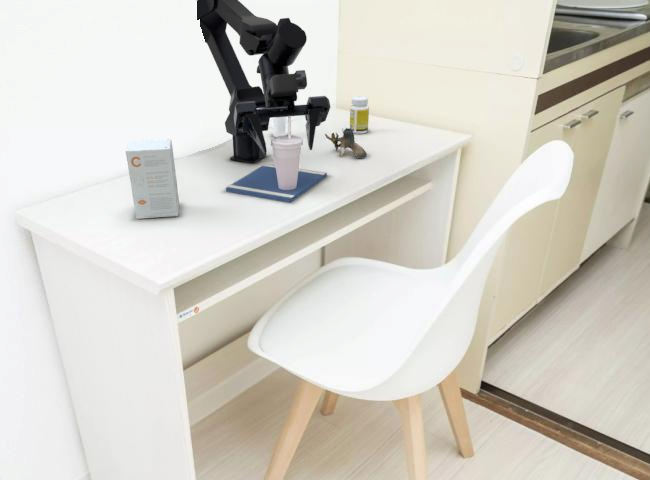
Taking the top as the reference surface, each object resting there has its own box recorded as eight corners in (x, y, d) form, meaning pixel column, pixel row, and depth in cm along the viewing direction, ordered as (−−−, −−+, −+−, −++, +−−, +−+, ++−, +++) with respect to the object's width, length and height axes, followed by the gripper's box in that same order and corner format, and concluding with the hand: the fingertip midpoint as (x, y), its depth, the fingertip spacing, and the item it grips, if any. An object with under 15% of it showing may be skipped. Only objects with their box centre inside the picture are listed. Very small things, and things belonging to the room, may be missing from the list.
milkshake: (267, 138, 165) (266, 97, 160) (273, 132, 169) (272, 93, 164) (284, 139, 164) (284, 98, 158) (290, 133, 168) (290, 93, 163)
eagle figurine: (320, 151, 151) (350, 151, 145) (327, 121, 151) (358, 119, 145) (339, 162, 157) (369, 162, 151) (346, 133, 157) (376, 132, 151)
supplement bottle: (370, 130, 169) (372, 97, 164) (363, 135, 166) (364, 100, 161) (354, 128, 171) (355, 95, 167) (346, 132, 168) (347, 98, 163)
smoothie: (303, 192, 130) (302, 121, 122) (271, 192, 130) (268, 121, 122) (303, 181, 135) (302, 112, 128) (272, 181, 135) (270, 113, 128)
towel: (226, 191, 133) (225, 187, 133) (266, 167, 146) (266, 163, 146) (290, 202, 127) (290, 198, 127) (326, 176, 140) (326, 172, 139)
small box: (179, 204, 128) (172, 138, 121) (178, 216, 123) (171, 148, 116) (138, 207, 127) (128, 140, 120) (135, 219, 122) (125, 150, 115)
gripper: (232, 58, 121) (244, 133, 118) (328, 52, 124) (343, 125, 121) (229, 92, 132) (240, 162, 129) (317, 86, 135) (331, 154, 132)
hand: (288, 151), depth 127 cm, fingers open, 9 cm apart
